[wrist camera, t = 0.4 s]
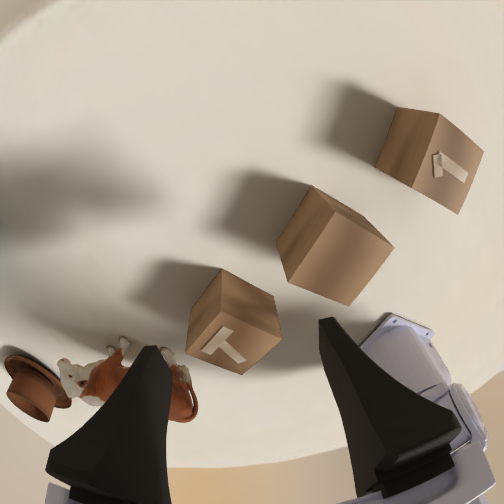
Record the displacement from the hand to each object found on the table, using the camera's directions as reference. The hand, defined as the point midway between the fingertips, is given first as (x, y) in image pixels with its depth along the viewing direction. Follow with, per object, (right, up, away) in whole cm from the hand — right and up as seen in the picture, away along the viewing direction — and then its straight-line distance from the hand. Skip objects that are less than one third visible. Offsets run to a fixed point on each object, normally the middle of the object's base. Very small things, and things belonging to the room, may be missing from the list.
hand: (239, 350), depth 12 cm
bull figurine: (-11, -5, +14) cm, 19 cm away
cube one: (+13, +12, +6) cm, 18 cm away
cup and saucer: (-30, -14, +18) cm, 38 cm away
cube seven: (-1, 0, +12) cm, 12 cm away
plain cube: (+6, +6, +9) cm, 12 cm away
